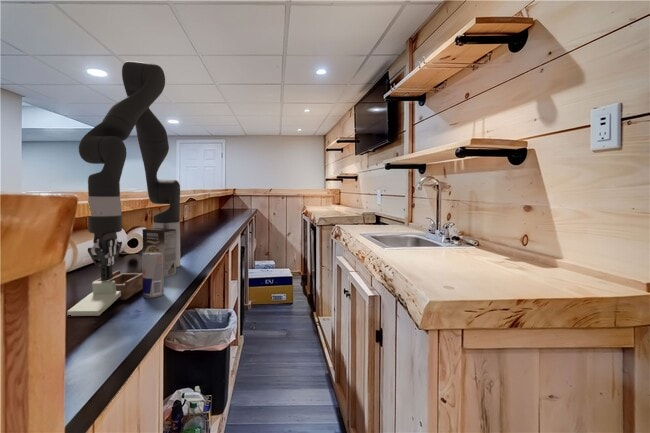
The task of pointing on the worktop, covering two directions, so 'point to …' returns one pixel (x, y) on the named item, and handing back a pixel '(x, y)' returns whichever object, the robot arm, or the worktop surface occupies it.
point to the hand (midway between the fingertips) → (106, 279)
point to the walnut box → (126, 283)
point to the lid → (96, 299)
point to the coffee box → (162, 246)
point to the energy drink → (152, 274)
